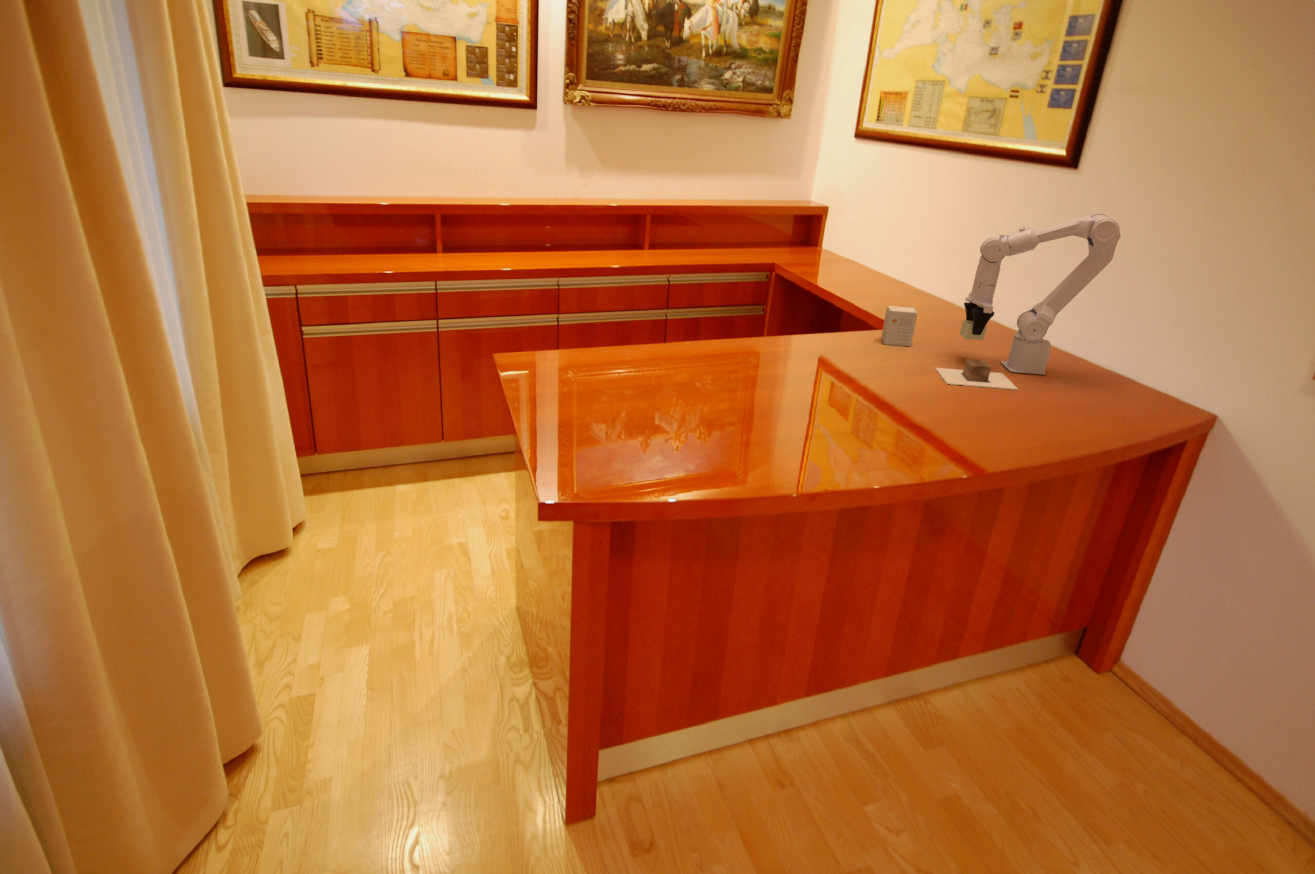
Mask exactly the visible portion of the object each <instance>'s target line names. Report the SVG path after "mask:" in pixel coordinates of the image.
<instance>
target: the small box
mask: <svg viewBox="0 0 1315 874" xmlns="http://www.w3.org/2000/svg"><path fill="white" fill-rule="evenodd" d="M917 317H918V312H917V310H916V309H915V307H907V306H897V305H896V306H895V305H894V306H893V305H887V306H886V311H885V315H884V320H883V327H882V330H881V331H882V333H881V338H880V340H881V341H882V342H883V345H887V346H899V347H911V346H912V341H913V338H914V332H915V327H916V322H917Z"/></svg>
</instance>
